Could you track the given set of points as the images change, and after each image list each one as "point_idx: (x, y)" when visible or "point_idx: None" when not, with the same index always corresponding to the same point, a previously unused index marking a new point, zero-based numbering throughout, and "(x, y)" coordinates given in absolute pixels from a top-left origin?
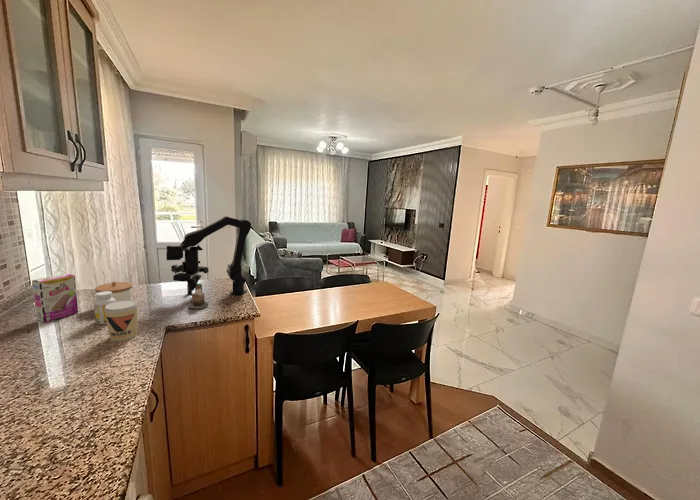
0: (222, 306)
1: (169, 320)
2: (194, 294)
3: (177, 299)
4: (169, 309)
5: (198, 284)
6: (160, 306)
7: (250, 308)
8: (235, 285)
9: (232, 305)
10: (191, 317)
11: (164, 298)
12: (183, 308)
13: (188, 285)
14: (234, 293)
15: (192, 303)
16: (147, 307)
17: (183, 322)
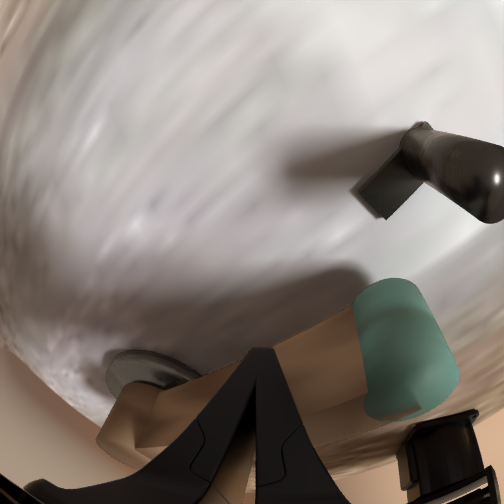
0: None
1: (19, 338)
2: (112, 446)
3: (192, 158)
4: (43, 268)
5: (400, 400)
6: (34, 171)
7: (252, 490)
8: (412, 488)
9: (254, 468)
10: (77, 393)
11: (166, 13)
12: (95, 332)
13: (457, 185)
14: (401, 448)
15: (122, 389)
16: (3, 113)
17: (47, 382)
